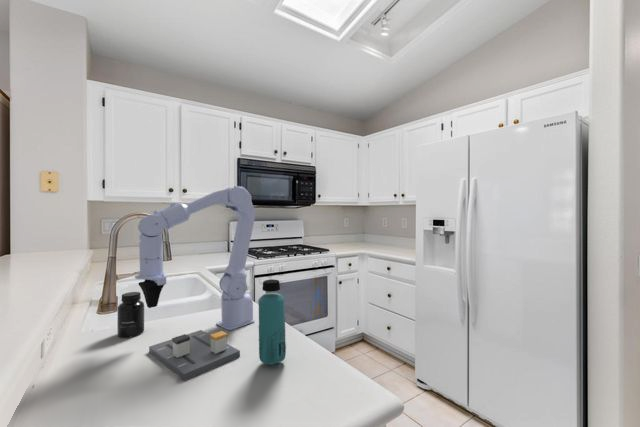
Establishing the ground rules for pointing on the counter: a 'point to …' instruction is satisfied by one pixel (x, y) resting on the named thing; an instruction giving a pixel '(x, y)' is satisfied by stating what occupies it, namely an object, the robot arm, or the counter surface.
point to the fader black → (181, 345)
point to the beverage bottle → (271, 324)
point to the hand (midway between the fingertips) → (152, 306)
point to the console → (193, 356)
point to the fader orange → (218, 342)
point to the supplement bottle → (130, 315)
